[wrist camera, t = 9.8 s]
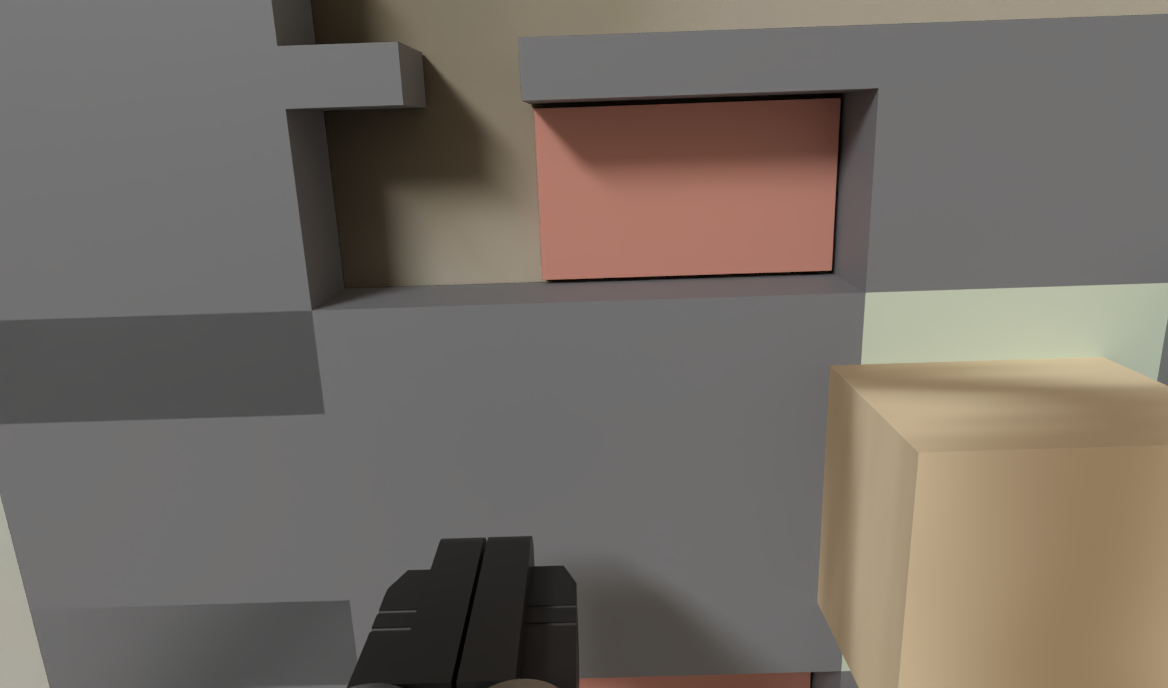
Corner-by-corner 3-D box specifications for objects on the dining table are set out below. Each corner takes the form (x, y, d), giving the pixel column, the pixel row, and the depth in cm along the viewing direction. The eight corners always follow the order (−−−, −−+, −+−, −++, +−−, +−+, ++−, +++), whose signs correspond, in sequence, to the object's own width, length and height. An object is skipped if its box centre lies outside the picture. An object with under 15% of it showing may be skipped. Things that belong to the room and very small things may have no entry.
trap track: (160, 867, 20) (75, 1016, 17) (-55, -77, 14) (-252, -139, 11) (1057, 845, 20) (1152, 991, 17) (1215, -124, 14) (1413, -203, 11)
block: (817, 601, 16) (892, 756, 12) (829, 365, 14) (918, 452, 11) (1066, 595, 16) (1223, 748, 12) (1102, 357, 14) (1291, 442, 11)
